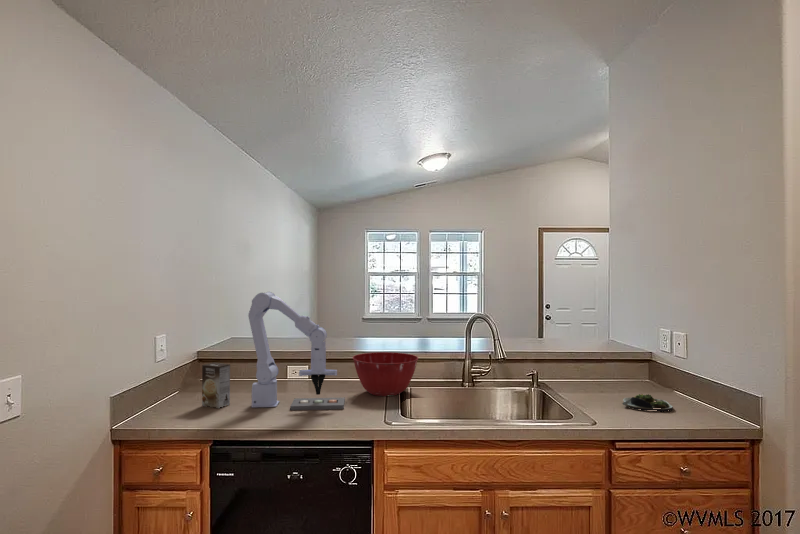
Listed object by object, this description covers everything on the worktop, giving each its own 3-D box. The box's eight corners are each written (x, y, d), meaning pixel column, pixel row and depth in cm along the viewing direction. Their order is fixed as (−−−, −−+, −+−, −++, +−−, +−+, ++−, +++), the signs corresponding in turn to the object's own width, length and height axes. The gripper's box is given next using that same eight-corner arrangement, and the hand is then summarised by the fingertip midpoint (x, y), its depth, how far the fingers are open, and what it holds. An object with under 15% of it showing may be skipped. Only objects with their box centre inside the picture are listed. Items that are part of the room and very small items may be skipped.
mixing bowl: (420, 386, 236) (420, 352, 236) (416, 401, 207) (416, 363, 207) (359, 384, 238) (359, 351, 239) (346, 400, 210) (346, 362, 210)
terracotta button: (328, 406, 200) (328, 401, 200) (328, 404, 203) (328, 399, 203) (336, 405, 200) (336, 401, 200) (337, 403, 204) (337, 399, 204)
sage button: (313, 406, 200) (313, 402, 200) (314, 404, 203) (314, 399, 203) (322, 406, 200) (322, 401, 200) (322, 404, 203) (322, 399, 203)
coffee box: (200, 406, 201) (201, 364, 201) (213, 402, 207) (213, 362, 207) (218, 408, 197) (218, 366, 198) (230, 404, 203) (230, 363, 203)
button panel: (290, 410, 195) (290, 406, 195) (294, 402, 207) (294, 398, 207) (343, 409, 196) (343, 405, 196) (344, 401, 208) (344, 397, 208)
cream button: (299, 406, 199) (299, 402, 200) (300, 404, 203) (300, 400, 203) (307, 406, 200) (307, 402, 200) (308, 404, 203) (308, 400, 203)
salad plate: (617, 398, 213) (617, 387, 213) (665, 401, 208) (665, 390, 208) (623, 410, 194) (623, 398, 194) (676, 414, 189) (676, 401, 189)
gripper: (298, 361, 197) (298, 396, 197) (336, 360, 198) (336, 396, 198) (300, 357, 204) (300, 392, 204) (337, 357, 205) (337, 391, 205)
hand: (318, 394), depth 202 cm, fingers closed
